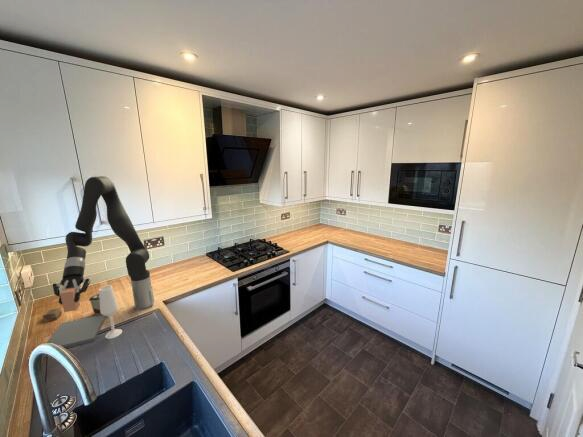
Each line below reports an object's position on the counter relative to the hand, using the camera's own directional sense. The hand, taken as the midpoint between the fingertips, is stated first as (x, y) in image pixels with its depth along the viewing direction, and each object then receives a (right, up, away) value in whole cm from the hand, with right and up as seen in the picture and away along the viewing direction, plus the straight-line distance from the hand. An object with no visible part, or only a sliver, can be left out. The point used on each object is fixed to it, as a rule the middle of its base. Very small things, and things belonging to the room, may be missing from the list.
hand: (68, 302), depth 108 cm
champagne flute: (+17, -17, +5) cm, 24 cm away
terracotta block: (-1, -4, +2) cm, 4 cm away
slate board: (-1, -16, +5) cm, 17 cm away
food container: (0, -13, +23) cm, 26 cm away
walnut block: (-24, -14, +16) cm, 32 cm away
